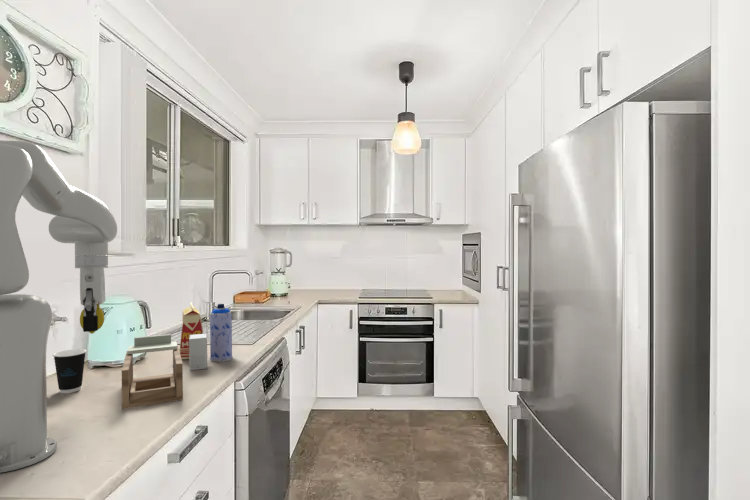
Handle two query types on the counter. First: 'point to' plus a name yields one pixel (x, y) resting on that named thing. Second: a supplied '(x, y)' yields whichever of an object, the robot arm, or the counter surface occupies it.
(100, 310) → the lemon
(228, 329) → the aerosol can
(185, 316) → the milk carton
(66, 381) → the dixie cup
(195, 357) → the small box
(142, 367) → the counter surface
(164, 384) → the walnut box
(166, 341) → the lid
